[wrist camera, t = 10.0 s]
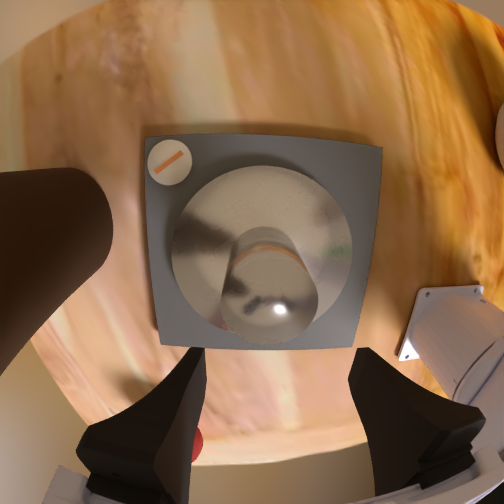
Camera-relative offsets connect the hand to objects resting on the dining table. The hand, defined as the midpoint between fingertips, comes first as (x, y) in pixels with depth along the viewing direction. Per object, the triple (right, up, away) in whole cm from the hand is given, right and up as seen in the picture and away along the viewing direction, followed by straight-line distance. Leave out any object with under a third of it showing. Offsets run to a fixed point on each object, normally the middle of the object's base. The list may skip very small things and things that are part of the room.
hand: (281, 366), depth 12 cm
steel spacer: (-1, +5, +6) cm, 8 cm away
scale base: (-1, +5, +8) cm, 10 cm away
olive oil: (-17, +8, +7) cm, 20 cm away
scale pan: (-1, +5, +7) cm, 8 cm away
